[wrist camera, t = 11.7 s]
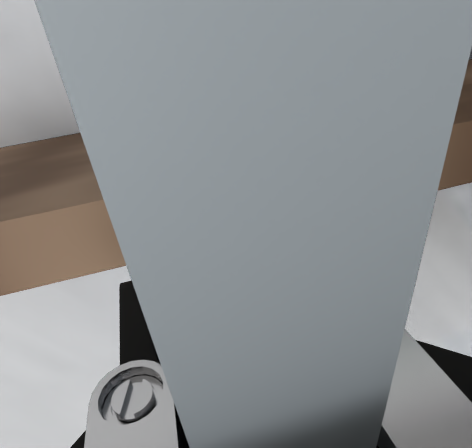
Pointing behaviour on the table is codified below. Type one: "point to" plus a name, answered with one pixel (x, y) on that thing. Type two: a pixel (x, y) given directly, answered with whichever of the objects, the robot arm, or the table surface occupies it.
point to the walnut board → (94, 209)
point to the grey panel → (268, 193)
